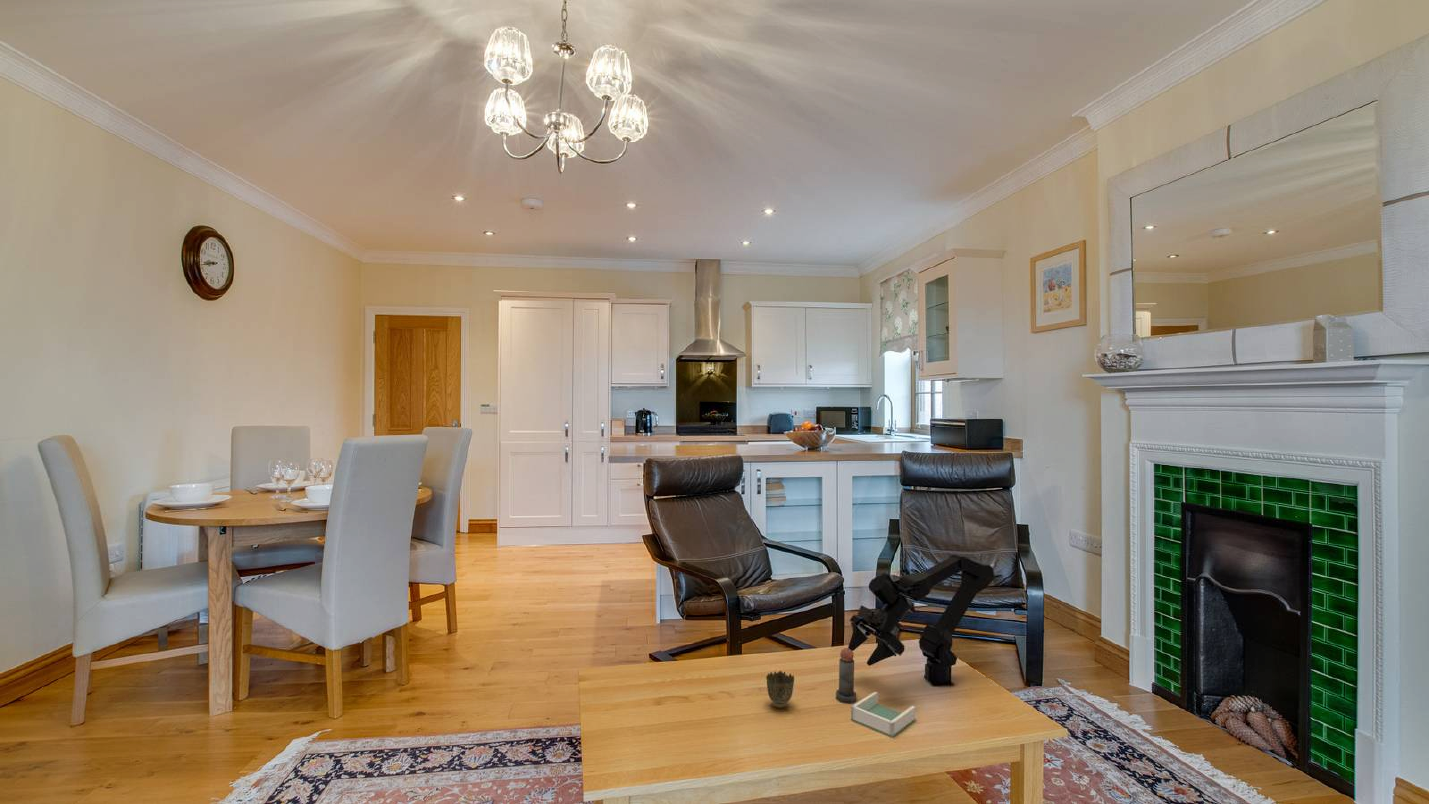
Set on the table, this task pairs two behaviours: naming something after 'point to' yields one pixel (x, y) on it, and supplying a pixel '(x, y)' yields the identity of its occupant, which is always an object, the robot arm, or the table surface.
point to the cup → (780, 688)
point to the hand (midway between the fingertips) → (857, 658)
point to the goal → (881, 716)
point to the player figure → (846, 677)
